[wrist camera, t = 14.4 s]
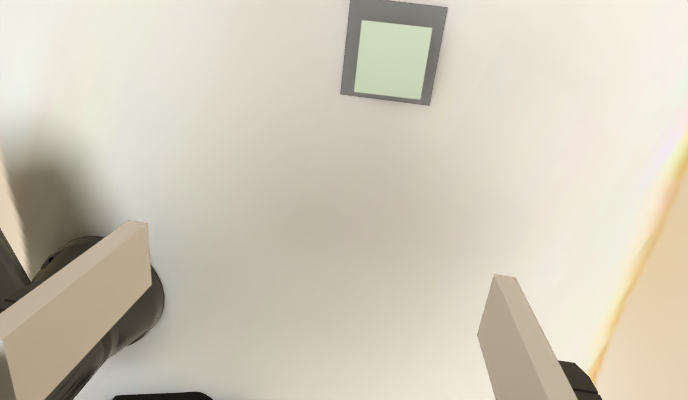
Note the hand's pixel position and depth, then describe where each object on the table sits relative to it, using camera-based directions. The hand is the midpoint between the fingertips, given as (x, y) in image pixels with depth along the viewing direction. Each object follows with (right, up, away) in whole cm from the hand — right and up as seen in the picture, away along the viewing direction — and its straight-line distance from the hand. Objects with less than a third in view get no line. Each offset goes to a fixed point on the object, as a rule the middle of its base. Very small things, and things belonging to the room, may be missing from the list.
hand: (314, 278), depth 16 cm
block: (+6, +17, +25) cm, 31 cm away
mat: (+6, +17, +26) cm, 32 cm away
